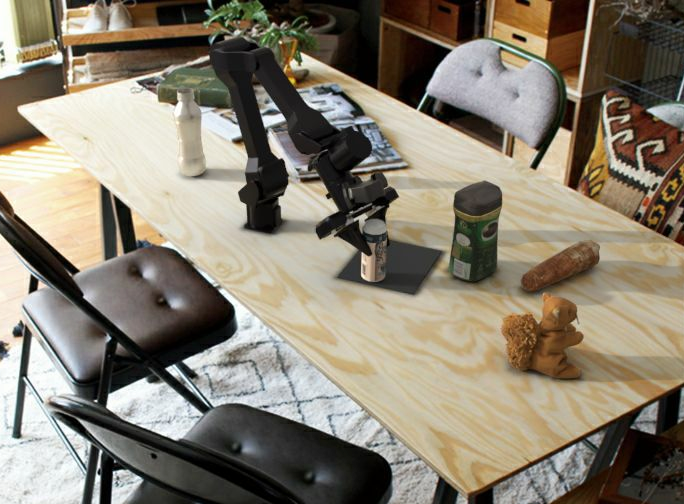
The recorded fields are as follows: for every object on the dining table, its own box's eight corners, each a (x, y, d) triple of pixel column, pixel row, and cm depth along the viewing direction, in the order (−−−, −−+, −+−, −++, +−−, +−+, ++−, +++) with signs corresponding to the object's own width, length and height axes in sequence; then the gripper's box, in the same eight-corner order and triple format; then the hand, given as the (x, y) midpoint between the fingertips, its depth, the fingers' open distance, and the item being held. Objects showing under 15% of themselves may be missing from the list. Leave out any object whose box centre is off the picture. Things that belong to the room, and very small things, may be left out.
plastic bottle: (212, 171, 241) (206, 89, 230) (194, 182, 237) (186, 98, 225) (191, 164, 244) (184, 82, 232) (172, 175, 240) (164, 92, 228)
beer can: (382, 285, 202) (384, 231, 194) (358, 281, 202) (360, 228, 195) (387, 272, 206) (389, 219, 198) (364, 269, 206) (365, 216, 199)
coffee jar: (473, 255, 213) (480, 173, 201) (502, 270, 208) (511, 186, 197) (441, 271, 207) (446, 187, 196) (470, 287, 203) (478, 202, 192)
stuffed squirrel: (584, 379, 179) (595, 316, 171) (504, 381, 178) (511, 318, 170) (570, 346, 187) (581, 284, 179) (494, 348, 186) (501, 286, 178)
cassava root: (600, 269, 209) (605, 245, 206) (532, 298, 200) (536, 274, 196) (578, 256, 213) (582, 232, 210) (510, 284, 204) (513, 260, 200)
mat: (337, 277, 204) (337, 276, 204) (369, 237, 218) (369, 235, 218) (413, 294, 200) (413, 293, 200) (441, 251, 214) (441, 250, 213)
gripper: (326, 178, 186) (369, 253, 187) (394, 147, 198) (434, 218, 198) (296, 203, 195) (337, 274, 196) (363, 172, 206) (401, 240, 207)
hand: (379, 251), depth 199 cm, fingers closed on beer can, 5 cm apart
